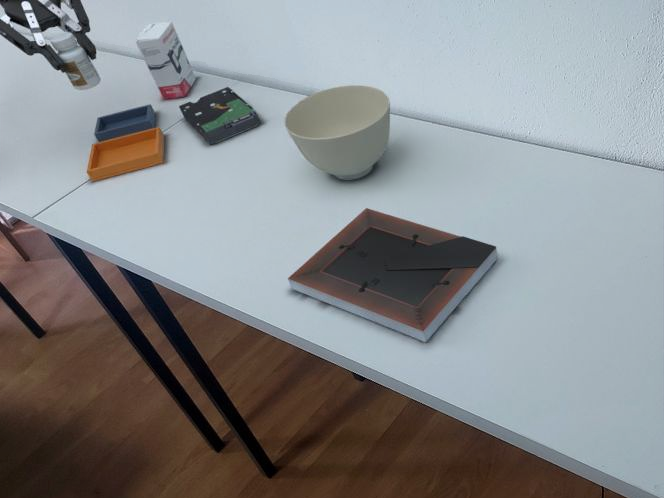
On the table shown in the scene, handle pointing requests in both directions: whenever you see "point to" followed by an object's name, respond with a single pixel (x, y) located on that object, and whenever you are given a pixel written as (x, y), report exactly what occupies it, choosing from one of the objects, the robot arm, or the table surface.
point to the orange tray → (126, 154)
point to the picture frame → (395, 272)
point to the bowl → (341, 129)
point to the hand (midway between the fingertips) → (79, 62)
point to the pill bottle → (75, 62)
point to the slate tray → (125, 123)
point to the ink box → (166, 59)
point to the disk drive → (220, 115)
